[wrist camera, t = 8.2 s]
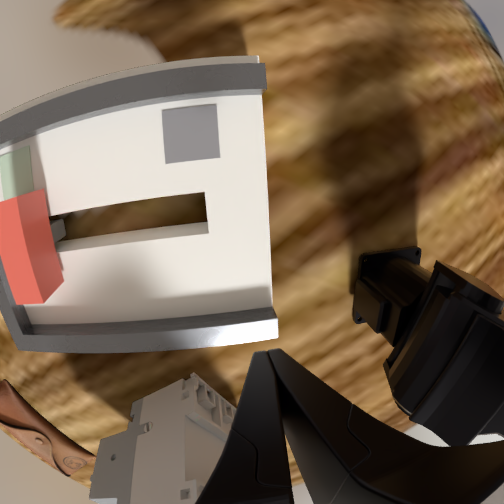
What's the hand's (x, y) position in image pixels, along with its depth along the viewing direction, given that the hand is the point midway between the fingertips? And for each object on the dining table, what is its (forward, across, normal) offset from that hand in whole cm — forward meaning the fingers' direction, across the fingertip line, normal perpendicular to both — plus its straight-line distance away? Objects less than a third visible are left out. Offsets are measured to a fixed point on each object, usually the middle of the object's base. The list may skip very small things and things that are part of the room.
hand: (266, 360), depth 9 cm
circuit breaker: (+12, +9, +18) cm, 24 cm away
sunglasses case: (+13, +30, +23) cm, 39 cm away
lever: (+11, +12, -3) cm, 17 cm away
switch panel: (+12, +8, -3) cm, 15 cm away
